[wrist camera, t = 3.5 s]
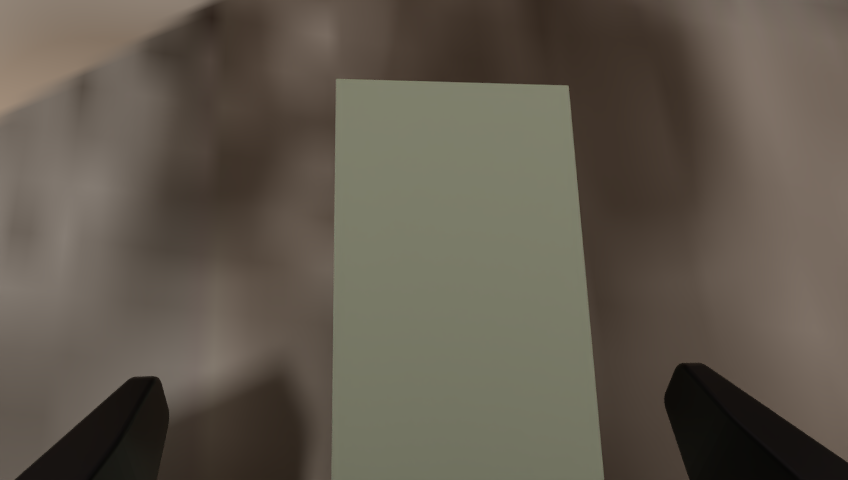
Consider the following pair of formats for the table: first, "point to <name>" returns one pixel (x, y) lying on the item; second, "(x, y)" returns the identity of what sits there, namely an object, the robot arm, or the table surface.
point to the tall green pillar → (459, 286)
